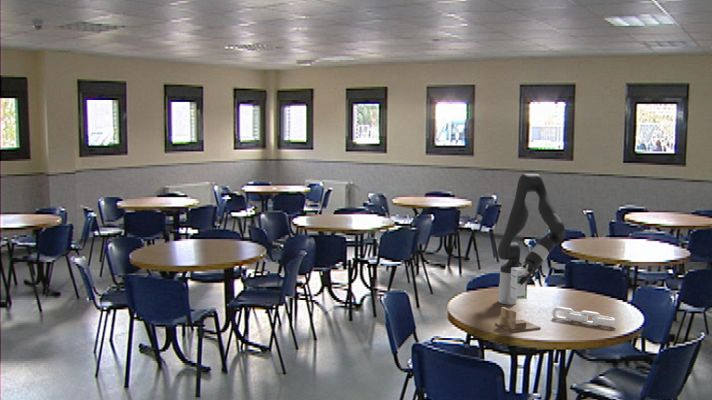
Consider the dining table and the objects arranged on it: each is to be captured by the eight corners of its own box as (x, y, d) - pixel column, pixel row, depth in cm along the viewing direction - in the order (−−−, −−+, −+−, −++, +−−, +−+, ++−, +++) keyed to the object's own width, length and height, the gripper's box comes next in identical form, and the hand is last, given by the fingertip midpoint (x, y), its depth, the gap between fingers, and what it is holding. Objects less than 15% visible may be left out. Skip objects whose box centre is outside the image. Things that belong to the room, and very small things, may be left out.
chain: (550, 319, 347) (551, 307, 346) (554, 316, 352) (554, 305, 352) (613, 329, 332) (614, 317, 331) (616, 326, 337) (616, 314, 336)
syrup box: (515, 299, 327) (517, 269, 325) (509, 296, 333) (511, 267, 331) (526, 299, 328) (528, 269, 327) (520, 296, 334) (521, 266, 332)
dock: (495, 324, 336) (495, 306, 335) (522, 321, 342) (523, 303, 341) (512, 332, 323) (513, 313, 322) (540, 329, 329) (541, 310, 328)
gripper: (523, 248, 338) (502, 273, 334) (542, 253, 325) (520, 280, 321) (531, 258, 340) (511, 283, 337) (551, 263, 327) (529, 290, 324)
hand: (515, 281), depth 329 cm, fingers closed on syrup box, 6 cm apart
